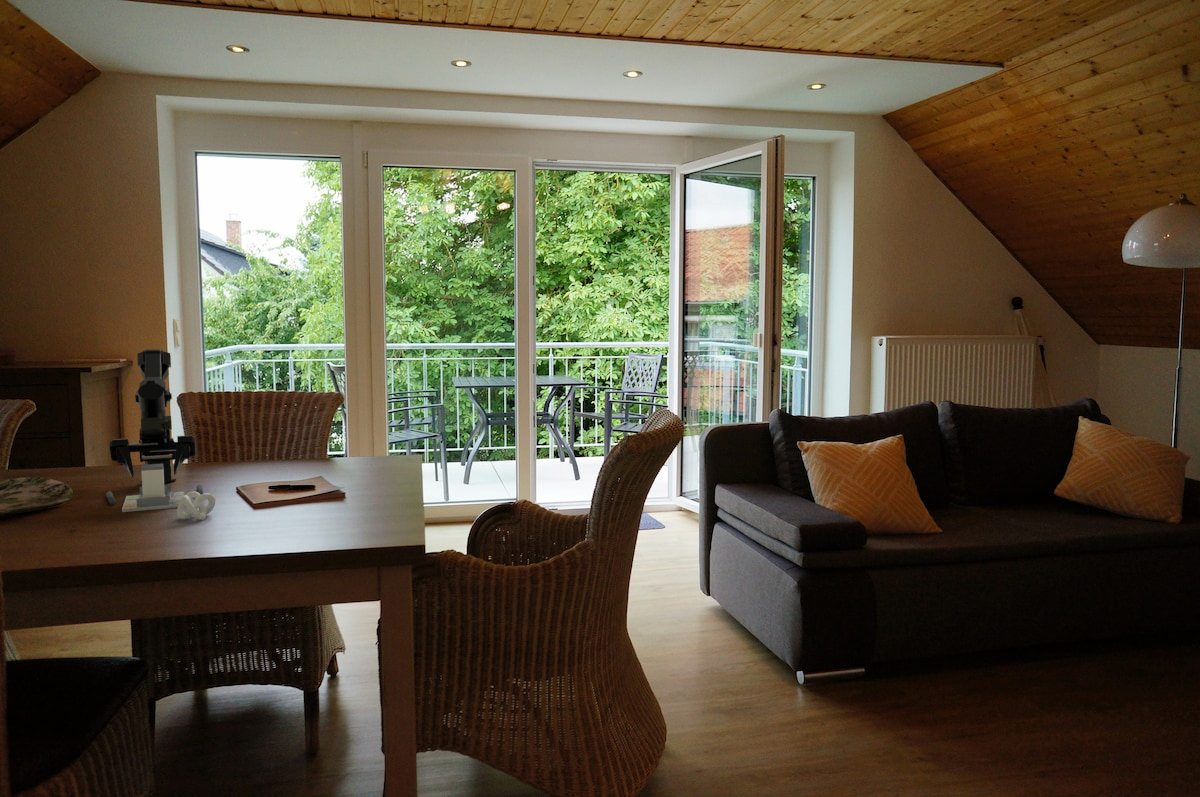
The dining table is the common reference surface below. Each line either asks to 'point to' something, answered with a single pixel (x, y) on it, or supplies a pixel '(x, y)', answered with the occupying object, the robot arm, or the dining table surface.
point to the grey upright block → (152, 480)
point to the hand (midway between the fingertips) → (153, 475)
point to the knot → (195, 505)
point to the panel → (152, 501)
